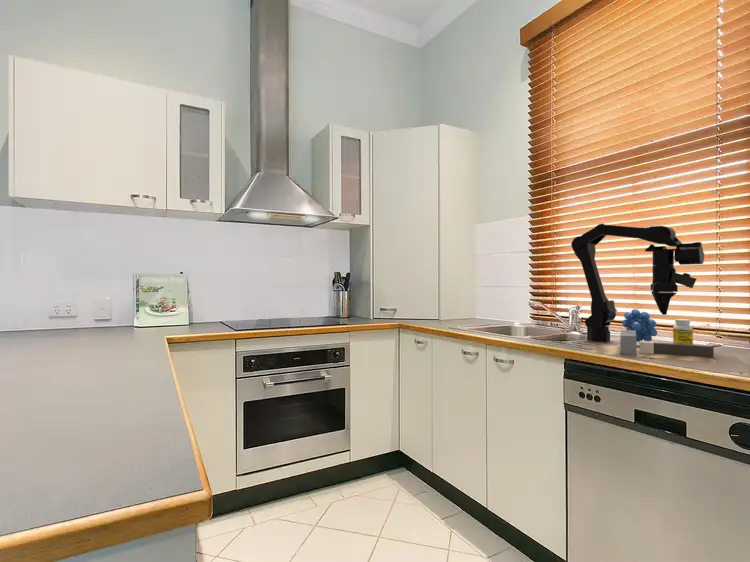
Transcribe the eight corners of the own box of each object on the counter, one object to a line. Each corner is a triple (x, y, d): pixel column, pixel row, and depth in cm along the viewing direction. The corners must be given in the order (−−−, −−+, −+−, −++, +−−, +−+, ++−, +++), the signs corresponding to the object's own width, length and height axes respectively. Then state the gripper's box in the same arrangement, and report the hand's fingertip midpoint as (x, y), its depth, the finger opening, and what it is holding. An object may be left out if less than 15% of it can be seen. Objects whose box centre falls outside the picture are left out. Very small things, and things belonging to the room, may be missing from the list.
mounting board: (591, 357, 127) (591, 353, 127) (595, 348, 142) (595, 344, 142) (716, 367, 112) (716, 362, 112) (706, 356, 127) (706, 352, 127)
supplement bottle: (689, 347, 143) (689, 319, 143) (695, 350, 138) (695, 320, 138) (670, 346, 144) (670, 318, 144) (676, 349, 139) (676, 320, 139)
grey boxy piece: (620, 354, 124) (620, 335, 124) (621, 346, 137) (621, 329, 137) (636, 355, 122) (636, 336, 122) (635, 347, 135) (635, 330, 135)
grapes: (617, 341, 157) (617, 309, 157) (624, 339, 162) (624, 308, 162) (652, 345, 148) (652, 310, 148) (659, 343, 153) (659, 309, 152)
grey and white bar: (634, 352, 127) (634, 341, 127) (634, 350, 130) (634, 340, 130) (714, 358, 117) (714, 346, 117) (711, 356, 121) (711, 344, 121)
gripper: (698, 263, 125) (698, 316, 125) (690, 265, 141) (690, 312, 141) (653, 264, 130) (653, 315, 130) (650, 266, 146) (650, 311, 146)
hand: (663, 313), depth 137 cm, fingers open, 9 cm apart
